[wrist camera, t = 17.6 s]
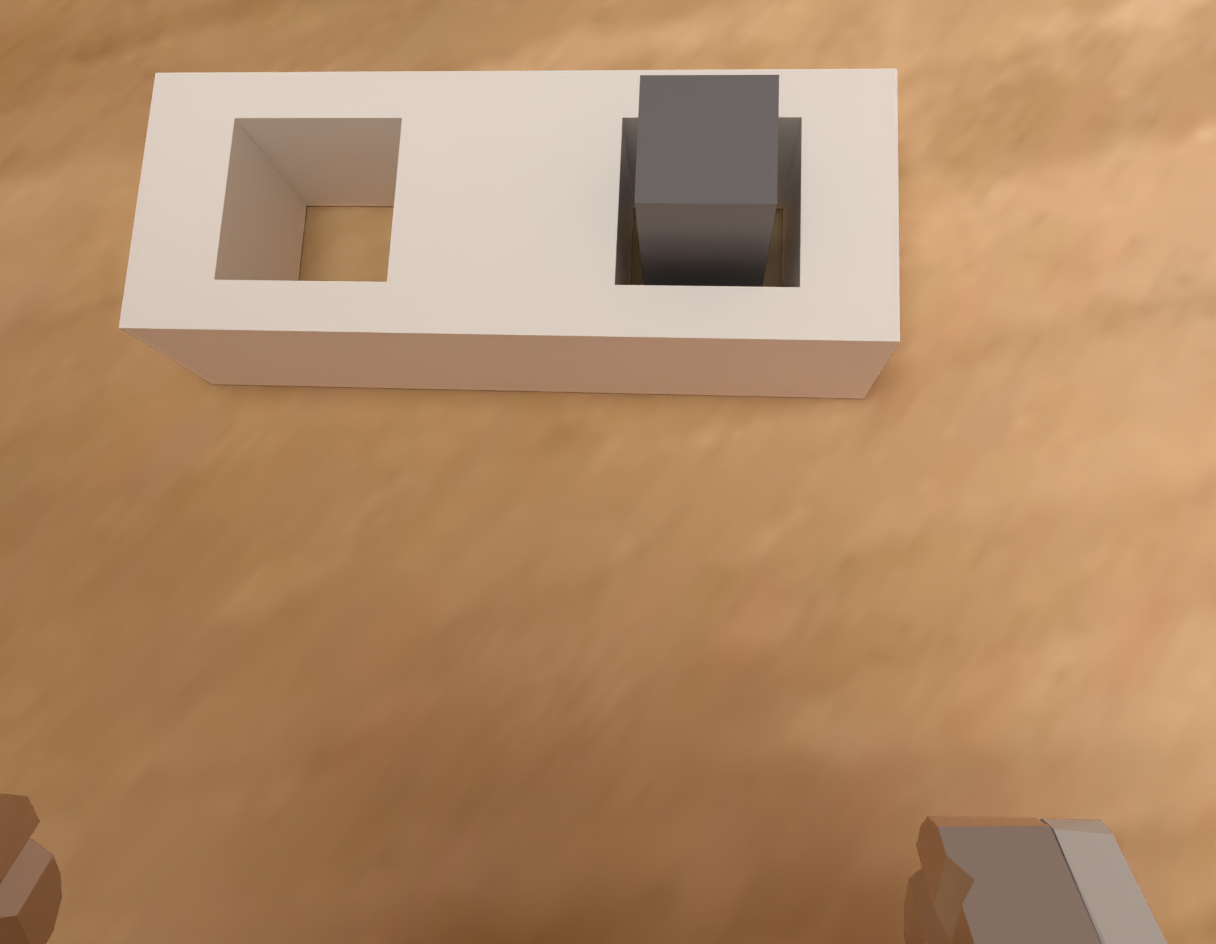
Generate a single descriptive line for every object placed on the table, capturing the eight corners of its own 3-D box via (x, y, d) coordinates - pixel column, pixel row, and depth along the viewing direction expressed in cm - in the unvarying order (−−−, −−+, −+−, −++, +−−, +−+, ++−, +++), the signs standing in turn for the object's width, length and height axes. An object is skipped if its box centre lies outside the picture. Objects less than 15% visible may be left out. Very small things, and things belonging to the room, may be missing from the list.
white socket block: (211, 384, 30) (118, 327, 25) (241, 151, 32) (158, 55, 27) (863, 398, 28) (899, 341, 24) (863, 152, 30) (896, 50, 25)
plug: (649, 328, 29) (634, 202, 22) (653, 232, 30) (640, 75, 22) (753, 330, 29) (777, 204, 21) (755, 232, 30) (778, 75, 22)
